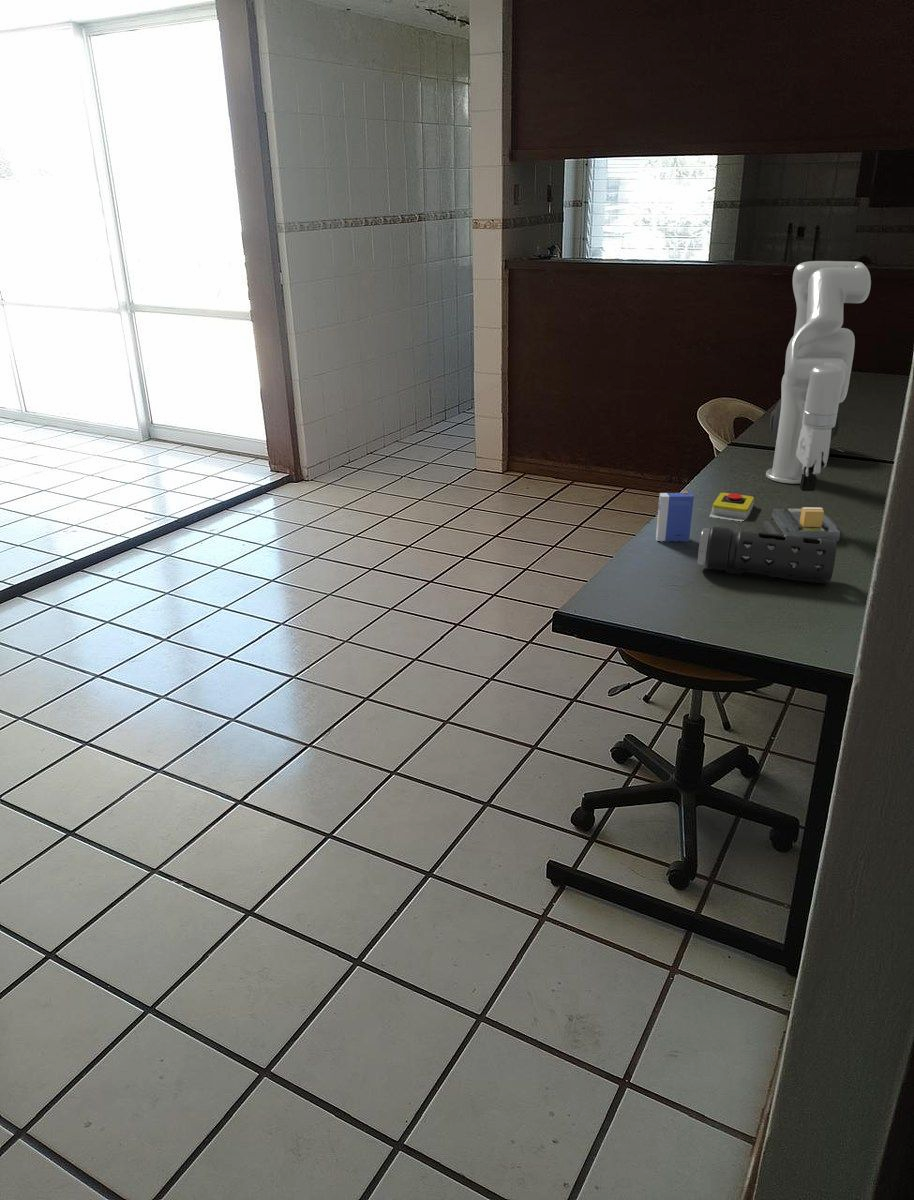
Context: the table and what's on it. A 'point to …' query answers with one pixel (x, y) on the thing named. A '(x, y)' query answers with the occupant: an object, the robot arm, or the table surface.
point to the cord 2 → (832, 522)
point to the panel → (792, 527)
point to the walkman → (674, 517)
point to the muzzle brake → (767, 554)
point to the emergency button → (732, 506)
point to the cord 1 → (769, 527)
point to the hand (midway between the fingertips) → (806, 489)
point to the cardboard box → (811, 516)
